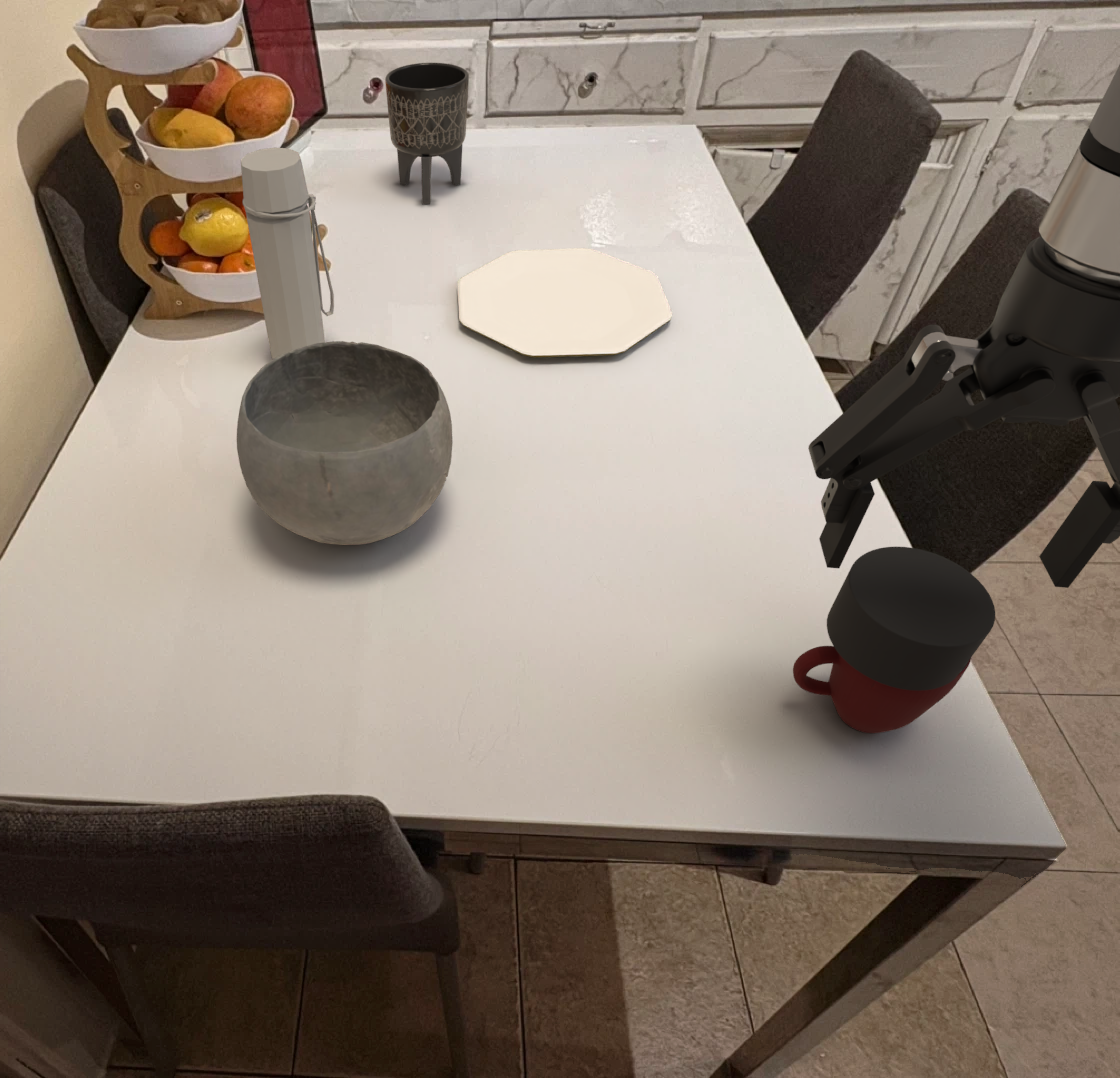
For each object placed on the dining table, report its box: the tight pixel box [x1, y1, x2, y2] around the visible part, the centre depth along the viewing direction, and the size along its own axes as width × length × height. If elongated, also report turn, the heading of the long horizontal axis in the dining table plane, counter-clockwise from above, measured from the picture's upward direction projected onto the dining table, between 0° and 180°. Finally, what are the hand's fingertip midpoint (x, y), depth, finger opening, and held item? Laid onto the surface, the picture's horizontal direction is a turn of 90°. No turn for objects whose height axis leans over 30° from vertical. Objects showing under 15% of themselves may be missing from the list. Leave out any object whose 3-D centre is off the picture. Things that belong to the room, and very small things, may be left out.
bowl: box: [236, 340, 454, 546], centre depth 82 cm, size 20×20×15 cm
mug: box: [792, 645, 972, 734], centre depth 64 cm, size 11×8×10 cm
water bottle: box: [240, 147, 335, 361], centre depth 99 cm, size 9×8×25 cm
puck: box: [826, 546, 996, 691], centre depth 59 cm, size 9×9×5 cm
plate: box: [456, 247, 673, 358], centre depth 113 cm, size 28×28×2 cm
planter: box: [384, 62, 470, 205], centre depth 136 cm, size 13×13×18 cm
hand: (938, 563), depth 55 cm, fingers open, 13 cm apart
